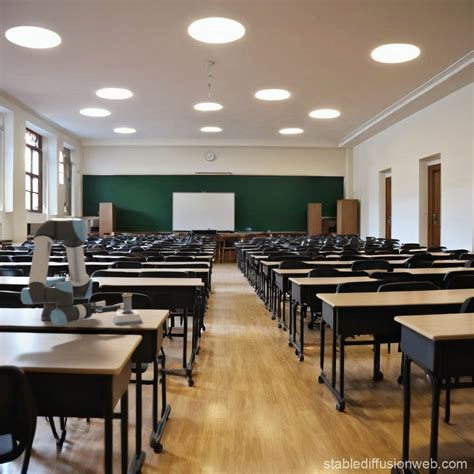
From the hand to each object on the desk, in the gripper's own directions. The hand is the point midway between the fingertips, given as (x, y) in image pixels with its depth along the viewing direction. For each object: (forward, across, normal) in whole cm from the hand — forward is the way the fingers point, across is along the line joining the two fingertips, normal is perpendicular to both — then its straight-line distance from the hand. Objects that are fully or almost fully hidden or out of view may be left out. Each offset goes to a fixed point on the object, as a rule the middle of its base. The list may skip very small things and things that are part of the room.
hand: (114, 304), depth 233 cm
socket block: (+10, 0, -11) cm, 15 cm away
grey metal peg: (+10, 0, -10) cm, 14 cm away
